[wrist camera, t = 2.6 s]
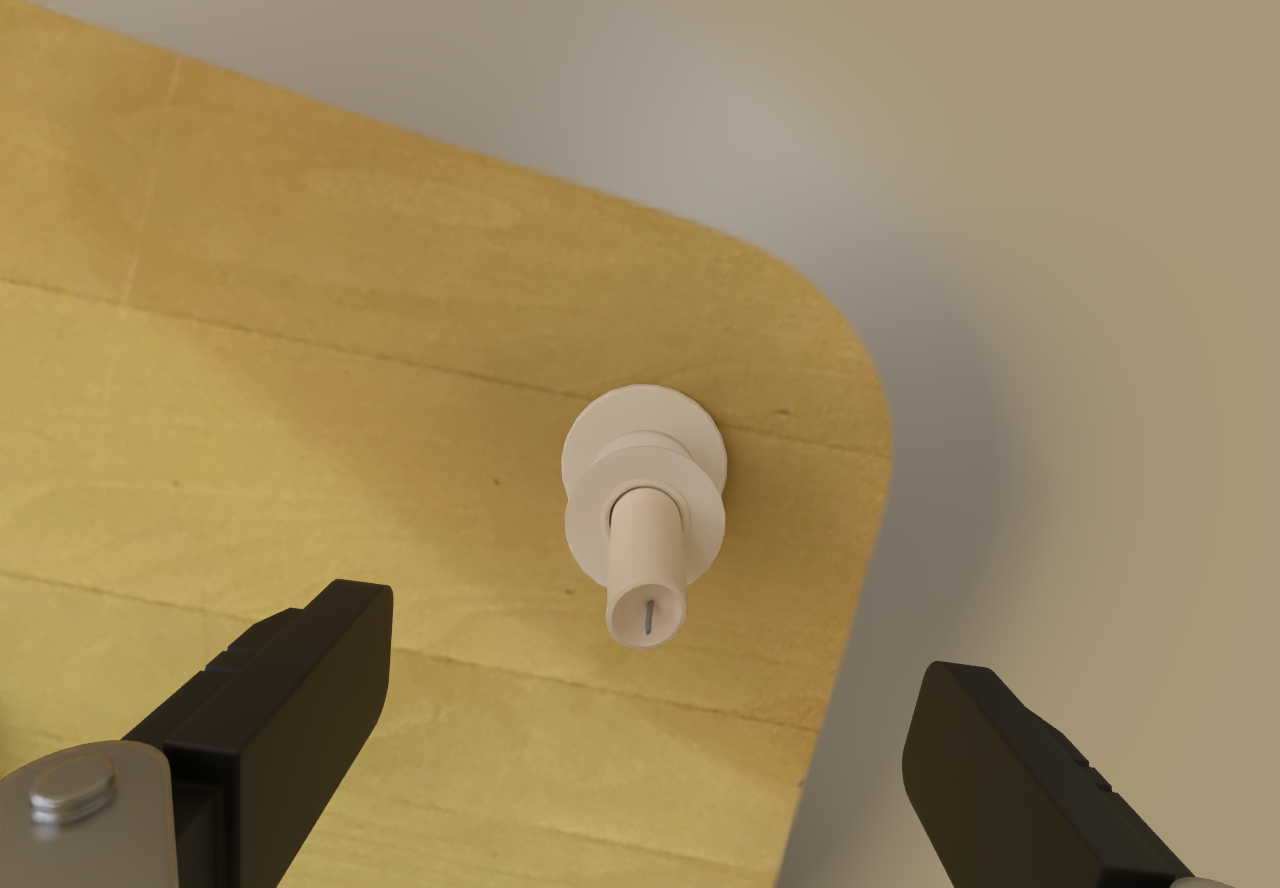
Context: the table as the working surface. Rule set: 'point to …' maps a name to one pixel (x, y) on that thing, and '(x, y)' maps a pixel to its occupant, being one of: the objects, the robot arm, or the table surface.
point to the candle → (644, 505)
